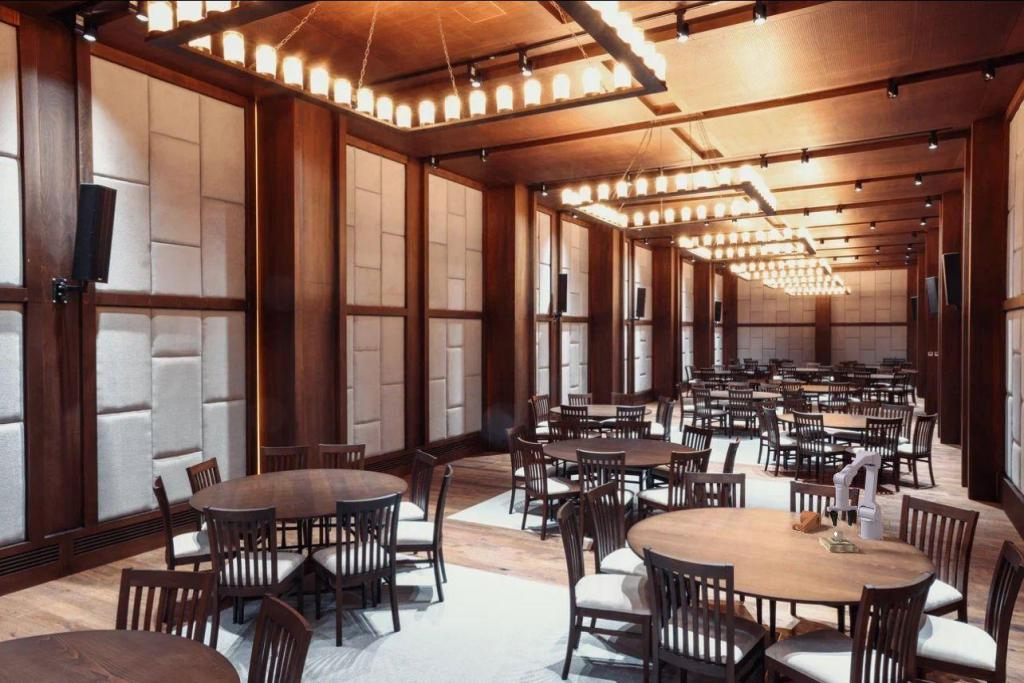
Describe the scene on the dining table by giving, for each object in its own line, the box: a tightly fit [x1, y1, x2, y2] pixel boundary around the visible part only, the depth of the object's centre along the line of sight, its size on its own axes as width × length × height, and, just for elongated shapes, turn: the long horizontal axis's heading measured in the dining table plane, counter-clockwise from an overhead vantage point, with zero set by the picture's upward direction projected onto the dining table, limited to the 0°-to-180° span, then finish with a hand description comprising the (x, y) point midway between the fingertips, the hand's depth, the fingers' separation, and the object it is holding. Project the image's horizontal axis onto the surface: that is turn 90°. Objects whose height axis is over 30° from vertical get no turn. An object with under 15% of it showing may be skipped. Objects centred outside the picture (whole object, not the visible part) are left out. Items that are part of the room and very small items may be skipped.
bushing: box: [833, 530, 844, 542], centre depth 334 cm, size 4×4×7 cm
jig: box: [818, 536, 859, 554], centre depth 331 cm, size 13×14×4 cm
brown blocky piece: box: [791, 509, 822, 533], centre depth 366 cm, size 20×8×8 cm, turn 132°
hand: (842, 525), depth 335 cm, fingers open, 7 cm apart
